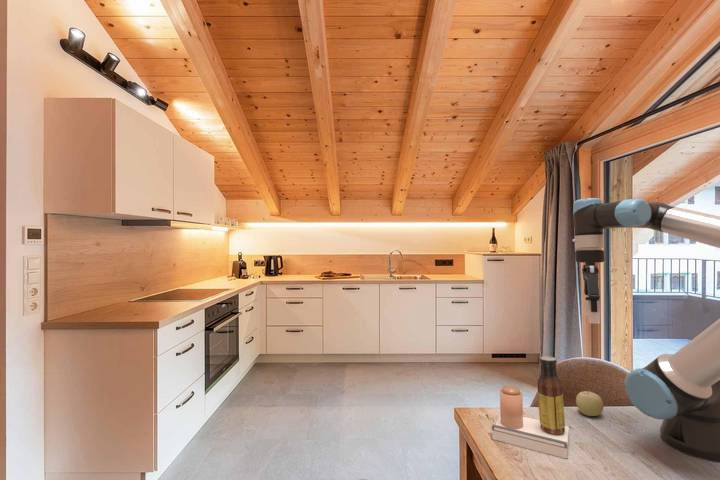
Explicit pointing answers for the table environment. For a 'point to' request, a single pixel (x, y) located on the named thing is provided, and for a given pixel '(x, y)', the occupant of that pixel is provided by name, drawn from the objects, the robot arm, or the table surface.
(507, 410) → the terracotta jar
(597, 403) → the fruit
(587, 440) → the table surface
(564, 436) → the white rectangular box
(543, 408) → the sauce bottle
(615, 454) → the table surface
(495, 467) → the table surface
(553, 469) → the table surface
